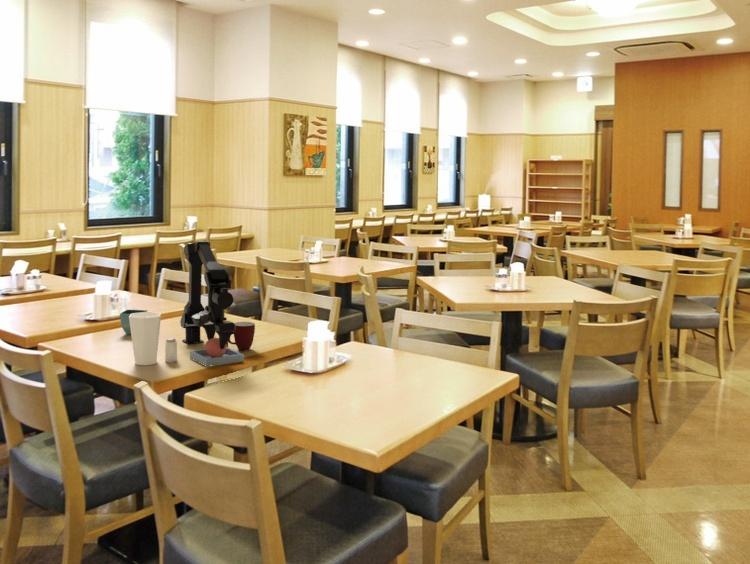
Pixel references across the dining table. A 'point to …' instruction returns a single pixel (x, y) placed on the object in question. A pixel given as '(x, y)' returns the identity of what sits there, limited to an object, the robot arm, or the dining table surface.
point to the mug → (243, 335)
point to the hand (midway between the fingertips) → (216, 346)
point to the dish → (227, 358)
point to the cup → (145, 336)
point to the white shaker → (170, 350)
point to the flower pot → (125, 319)
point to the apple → (214, 348)
